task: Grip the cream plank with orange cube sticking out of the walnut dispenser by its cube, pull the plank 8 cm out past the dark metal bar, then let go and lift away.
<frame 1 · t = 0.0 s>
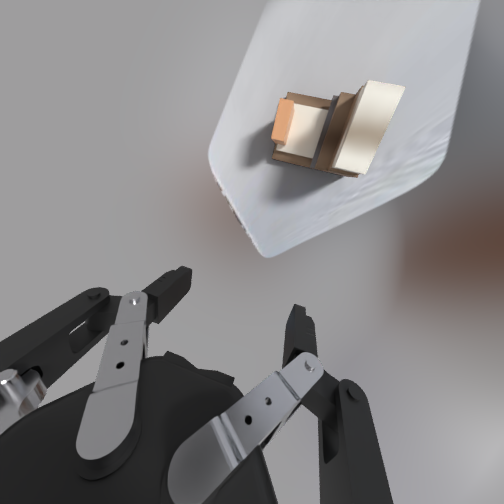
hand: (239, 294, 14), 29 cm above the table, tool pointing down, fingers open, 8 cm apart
dispenser: (323, 138, 32), on the table
plank with orange cube: (306, 129, 29), point 4 cm above the table, slide at 0.0 cm
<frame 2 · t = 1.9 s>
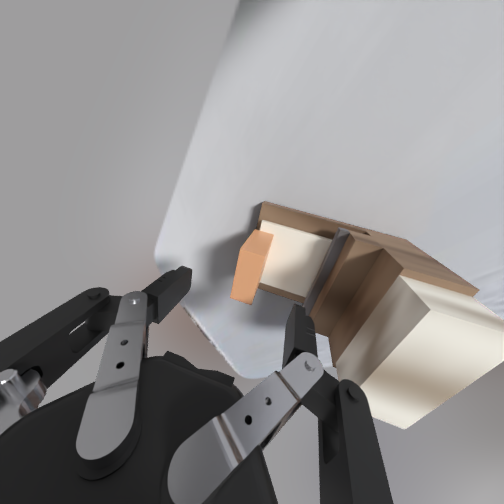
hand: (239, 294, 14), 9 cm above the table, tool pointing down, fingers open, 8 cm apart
dispenser: (322, 264, 20), on the table
plank with orange cube: (292, 275, 17), point 4 cm above the table, slide at 0.0 cm
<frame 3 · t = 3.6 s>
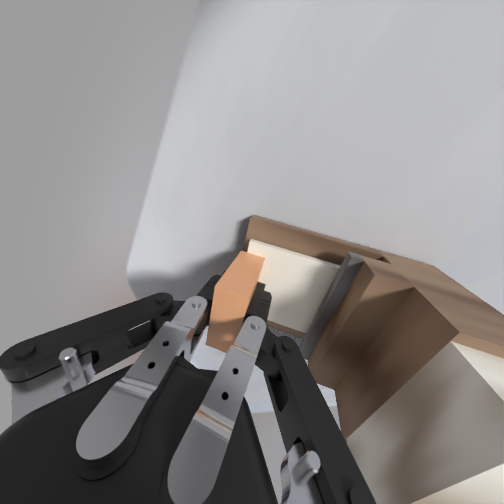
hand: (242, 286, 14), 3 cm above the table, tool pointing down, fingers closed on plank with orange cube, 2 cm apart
dispenser: (325, 292, 16), on the table
plank with orange cube: (288, 312, 13), point 4 cm above the table, slide at 0.0 cm, touching gripper
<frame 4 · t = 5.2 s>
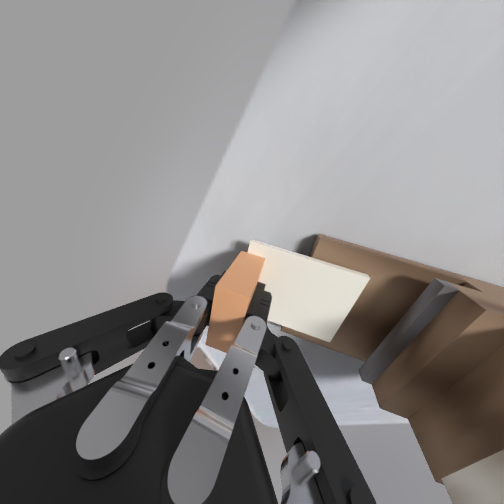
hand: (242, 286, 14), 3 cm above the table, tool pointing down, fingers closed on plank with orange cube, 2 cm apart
dispenser: (387, 313, 16), on the table
plank with orange cube: (288, 313, 13), point 4 cm above the table, slide at 5.4 cm, touching gripper
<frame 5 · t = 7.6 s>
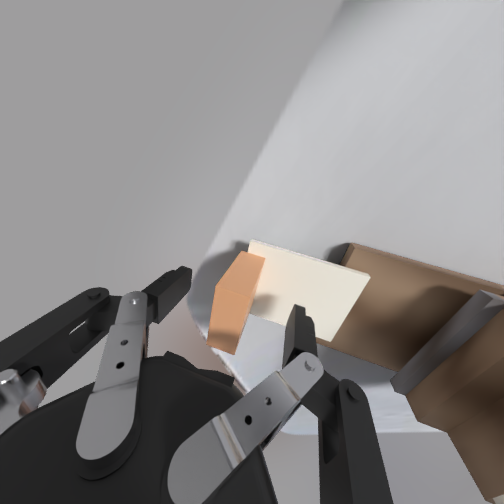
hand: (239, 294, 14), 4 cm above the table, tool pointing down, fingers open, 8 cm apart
dispenser: (419, 322, 15), on the table
plank with orange cube: (288, 312, 13), point 4 cm above the table, slide at 7.9 cm
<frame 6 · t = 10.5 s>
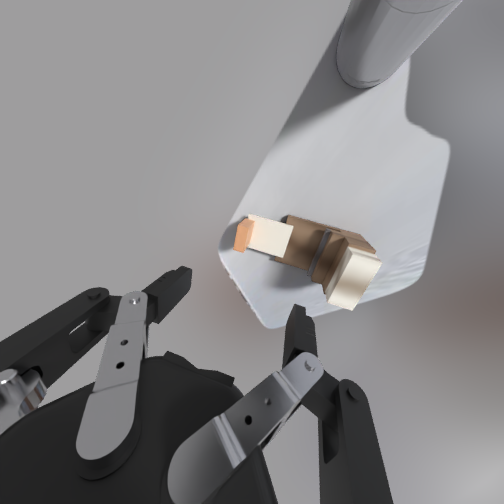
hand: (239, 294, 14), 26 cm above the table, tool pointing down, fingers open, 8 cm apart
dispenser: (319, 248, 37), on the table
plank with orange cube: (263, 240, 35), point 4 cm above the table, slide at 7.9 cm
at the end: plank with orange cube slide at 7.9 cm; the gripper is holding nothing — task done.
